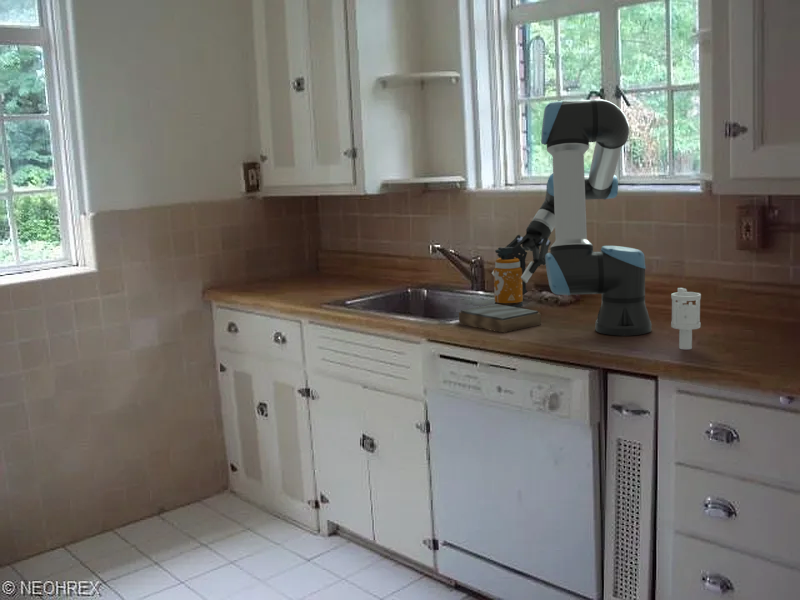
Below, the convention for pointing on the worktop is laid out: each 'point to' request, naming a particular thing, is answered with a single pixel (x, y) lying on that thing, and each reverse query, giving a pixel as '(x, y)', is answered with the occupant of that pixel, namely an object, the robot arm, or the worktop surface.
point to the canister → (509, 277)
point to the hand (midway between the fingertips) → (508, 278)
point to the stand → (500, 317)
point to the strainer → (685, 315)
